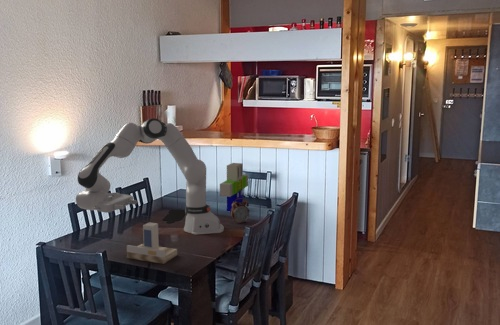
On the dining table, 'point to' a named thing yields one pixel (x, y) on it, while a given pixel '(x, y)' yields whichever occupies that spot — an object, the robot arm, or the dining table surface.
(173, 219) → the toy
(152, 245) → the carton
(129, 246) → the beige flat block
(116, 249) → the dining table surface
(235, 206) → the alarm clock
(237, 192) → the toy
